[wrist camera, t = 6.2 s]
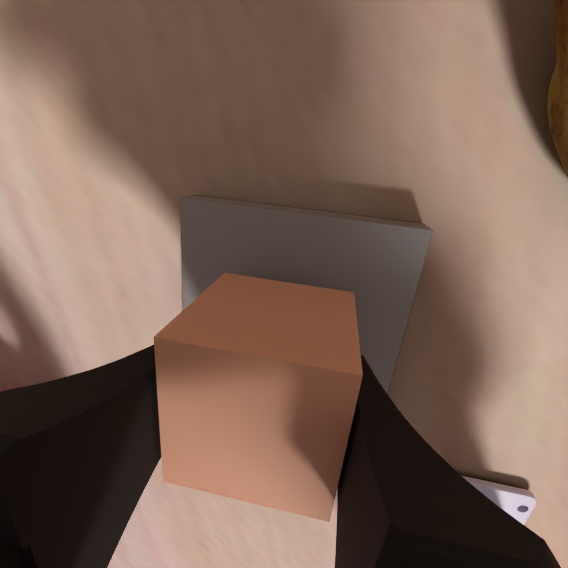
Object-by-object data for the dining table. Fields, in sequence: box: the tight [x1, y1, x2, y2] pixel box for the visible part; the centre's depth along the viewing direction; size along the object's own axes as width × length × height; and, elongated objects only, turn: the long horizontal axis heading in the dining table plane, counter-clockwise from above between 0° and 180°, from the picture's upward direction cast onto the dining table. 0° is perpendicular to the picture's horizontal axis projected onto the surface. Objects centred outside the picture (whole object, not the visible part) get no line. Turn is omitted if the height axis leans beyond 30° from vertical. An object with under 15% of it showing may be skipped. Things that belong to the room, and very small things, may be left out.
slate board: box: [180, 195, 433, 394], centre depth 15 cm, size 10×10×2 cm
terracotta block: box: [154, 273, 363, 522], centre depth 10 cm, size 5×5×5 cm
